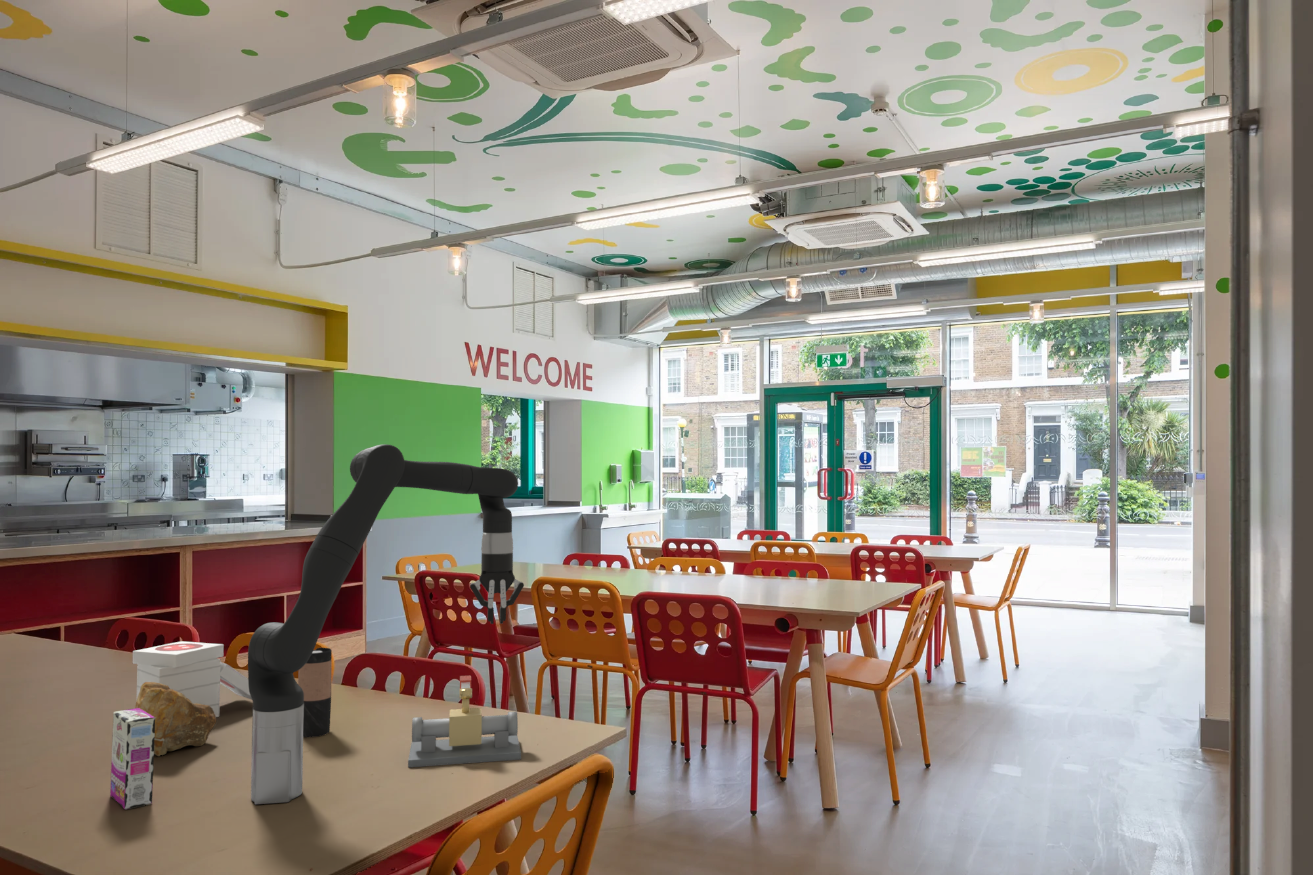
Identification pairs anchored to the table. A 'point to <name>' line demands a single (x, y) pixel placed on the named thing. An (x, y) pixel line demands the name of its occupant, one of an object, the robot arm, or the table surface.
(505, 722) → the valve stand
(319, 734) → the travel mug
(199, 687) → the pizza boxes
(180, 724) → the rough brown rock
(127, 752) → the candy bar box
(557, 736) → the table surface
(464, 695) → the lever
